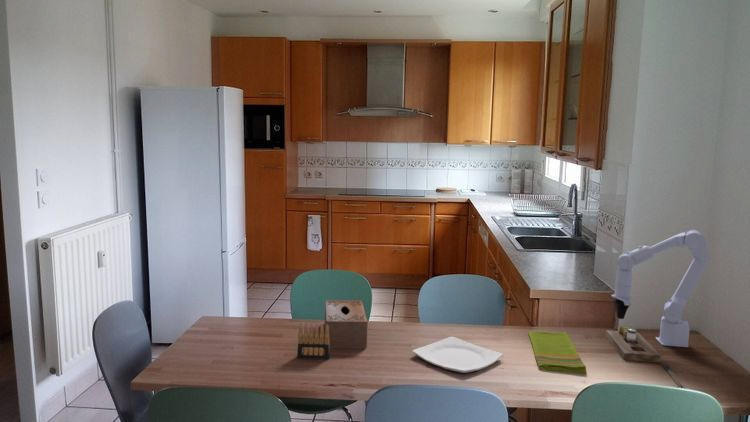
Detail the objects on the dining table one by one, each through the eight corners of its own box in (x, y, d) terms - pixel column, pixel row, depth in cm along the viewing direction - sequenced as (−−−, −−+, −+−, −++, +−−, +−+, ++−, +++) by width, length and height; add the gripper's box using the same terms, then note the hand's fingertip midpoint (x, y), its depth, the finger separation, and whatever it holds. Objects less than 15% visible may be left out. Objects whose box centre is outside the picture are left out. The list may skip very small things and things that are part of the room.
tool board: (637, 338, 223) (638, 332, 223) (659, 362, 199) (660, 355, 199) (605, 336, 225) (606, 330, 224) (623, 359, 201) (624, 352, 201)
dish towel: (538, 371, 189) (539, 361, 189) (527, 335, 224) (528, 327, 224) (587, 376, 187) (587, 366, 187) (568, 338, 222) (568, 330, 222)
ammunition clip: (329, 357, 193) (330, 322, 192) (329, 359, 192) (330, 324, 190) (297, 356, 193) (298, 321, 192) (296, 358, 191) (297, 323, 190)
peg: (633, 346, 214) (635, 328, 213) (635, 349, 211) (637, 331, 210) (624, 345, 215) (626, 327, 214) (627, 348, 212) (629, 330, 211)
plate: (450, 341, 214) (451, 334, 213) (507, 361, 196) (508, 354, 196) (406, 357, 196) (406, 350, 196) (464, 381, 179) (465, 372, 179)
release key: (628, 332, 222) (629, 327, 221) (633, 337, 217) (633, 331, 216) (617, 332, 222) (618, 326, 222) (621, 336, 217) (622, 331, 217)
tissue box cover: (324, 324, 227) (325, 300, 226) (361, 324, 228) (362, 300, 227) (325, 348, 201) (326, 321, 200) (366, 348, 203) (367, 321, 202)
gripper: (607, 279, 233) (605, 312, 235) (618, 288, 219) (615, 323, 220) (625, 280, 232) (623, 313, 234) (637, 290, 218) (634, 324, 219)
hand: (620, 318), depth 227 cm, fingers closed
